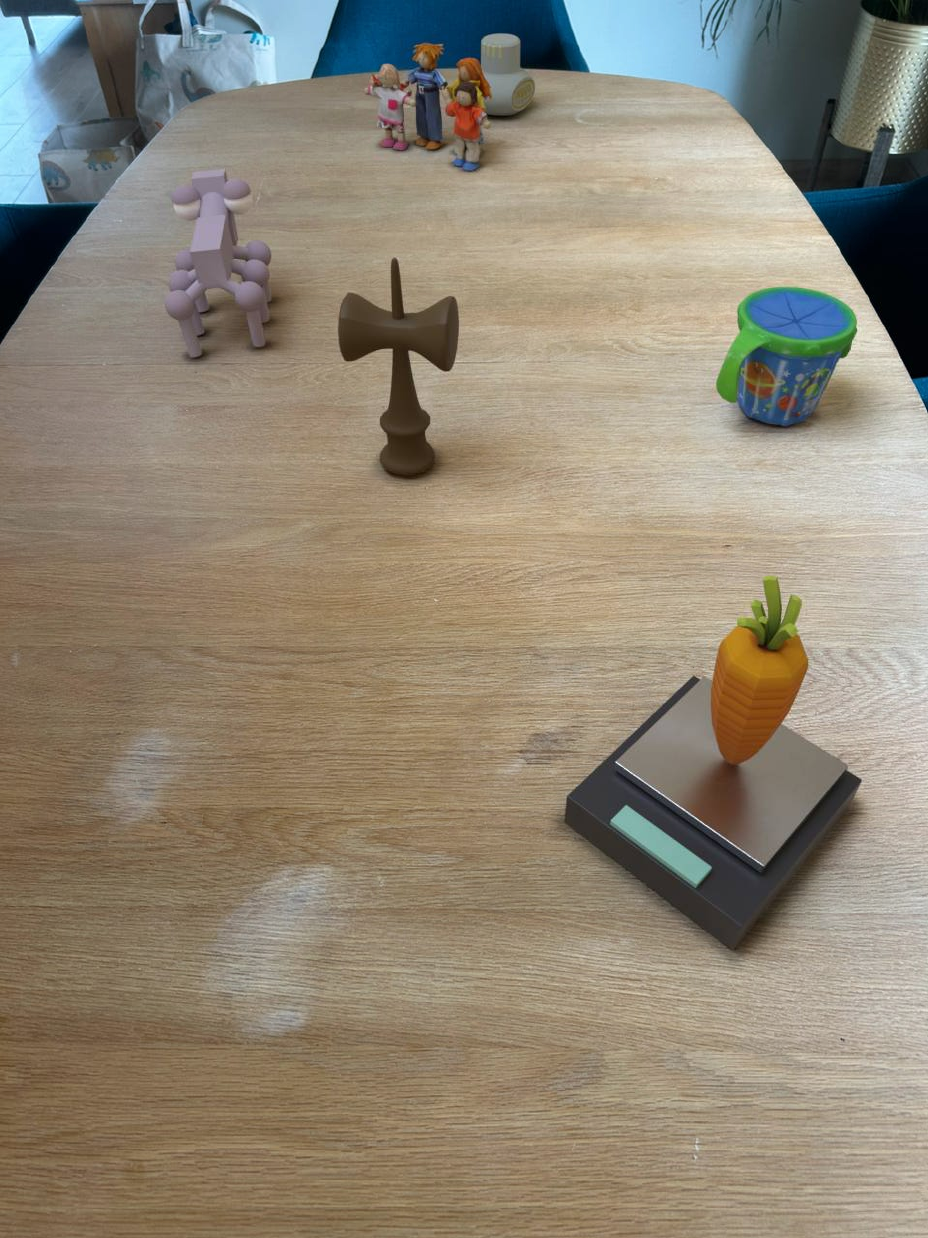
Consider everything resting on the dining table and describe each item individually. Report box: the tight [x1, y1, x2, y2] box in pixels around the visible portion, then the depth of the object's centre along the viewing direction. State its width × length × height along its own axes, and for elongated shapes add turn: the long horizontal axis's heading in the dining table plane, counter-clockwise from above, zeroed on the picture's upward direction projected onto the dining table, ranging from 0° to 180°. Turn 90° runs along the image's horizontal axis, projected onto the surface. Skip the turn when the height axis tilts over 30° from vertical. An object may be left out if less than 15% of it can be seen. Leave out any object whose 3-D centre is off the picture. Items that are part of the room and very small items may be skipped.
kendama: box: [337, 257, 460, 476], centre depth 86 cm, size 6×10×20 cm, turn 81°
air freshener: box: [480, 33, 536, 117], centre depth 153 cm, size 11×8×10 cm
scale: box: [563, 675, 863, 951], centre depth 65 cm, size 14×13×4 cm
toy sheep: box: [164, 168, 272, 359], centre depth 108 cm, size 20×11×14 cm, turn 5°
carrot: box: [711, 574, 809, 764], centre depth 58 cm, size 5×5×15 cm
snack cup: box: [715, 286, 858, 427], centre depth 95 cm, size 16×10×10 cm
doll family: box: [363, 42, 493, 172], centre depth 141 cm, size 21×10×13 cm, turn 55°
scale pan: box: [614, 676, 849, 873], centre depth 64 cm, size 10×11×1 cm
